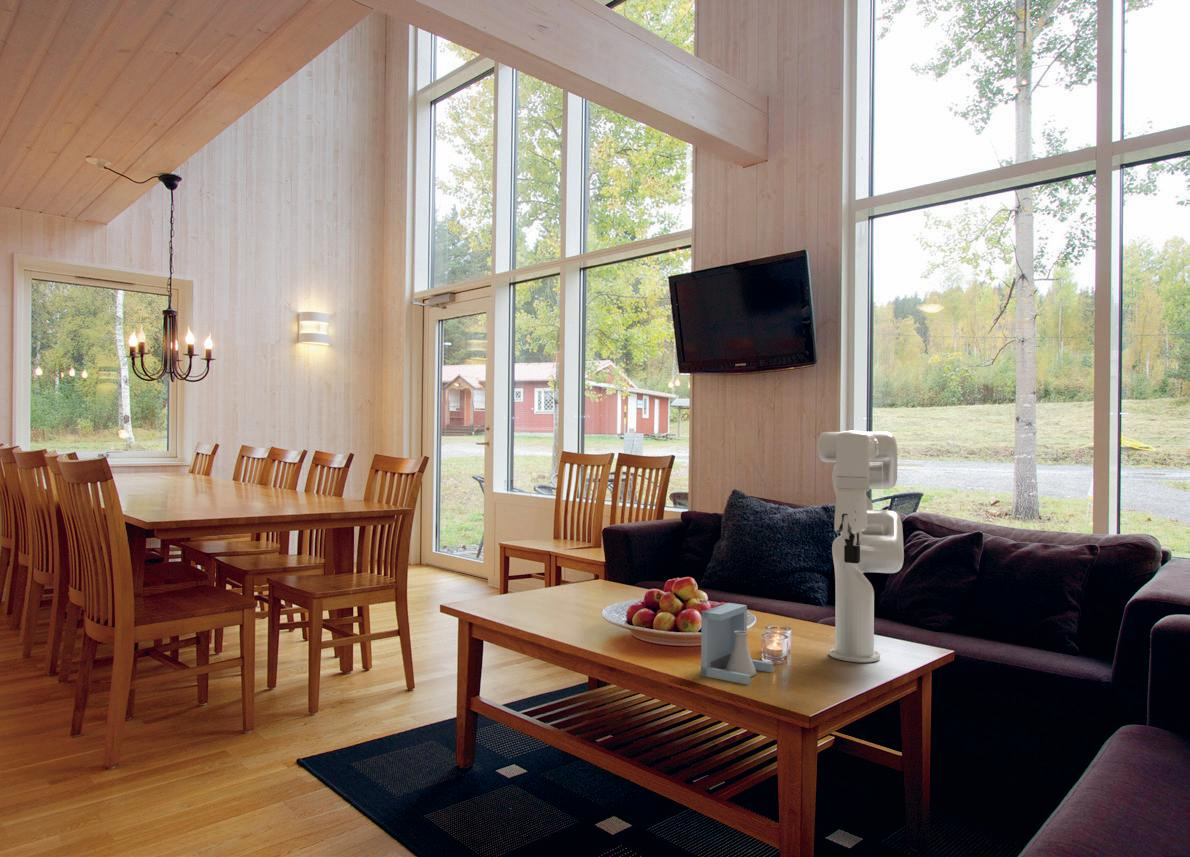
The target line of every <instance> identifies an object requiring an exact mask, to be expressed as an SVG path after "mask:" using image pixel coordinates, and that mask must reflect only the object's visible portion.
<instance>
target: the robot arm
mask: <svg viewBox="0 0 1190 857" xmlns="http://www.w3.org/2000/svg"><path fill="white" fill-rule="evenodd" d="M816 443H817V444H816V449H817V455H818V458H819V459H820V460H821V462H824V463H835V464H834V466H833V468H832V474H831V475H832V476H831V477H832V479H831V480H832V486H833V487H832V488H833V491H834V495H835V497H836V498H835V504H834V506H835V508H834V524H833V525H834V530H833V531H835V533H839V534H840V535H838V536H837V537H836V538H834V540H833V542H832V546H831V547H832V548H831V552H832V554H831V555H832V560H833V561H832V562H833V566H834V580H835V582H834V583H835V611H834V612H835V631H834V632H835V639H834V640H835V643H834V644H835V645H834V646H835V647H831V648H829V650H828V652H829V653H828V655H829V656H830V657H831V658H833V659H836V660H840V661H845V662H849V663H851V662H852V663H874V662H878V661H879V660H880V659H881V654H880V653H879V652H878V651H876V650H875V648H874V646H875V644H874V643H875V628H874V627H875V590H874V587H873V585H872V583H871V582H870V581H869V579H868V578H867V577H866V576H865V574H864V573H880V574H895V573H898V572H899V571H901V569H902V568H903V565H904V559H905V552H904V550H905V549H904V532H903V522H902V519H901V517H900V515H899V514H898V513H897V512H896V511H893V510H887V509H886V510H885V509H874V508H873V503H872V501H871V499H870V498H869V497H868V496H867V492H870V490H889V489H892V488H894V487H895V486H896V485H897V481H898V445H897V444H898V443H897V441H896V438H895V436H894V435H893V434H892V433H891V432H889V431H876V430H875V431H868V430H867V431H866V430H865V431H864V430H863V431H862V430H861V431H860V430H843V431H822V432H821V433H820V435H819V436H818V439H817V442H816Z"/></svg>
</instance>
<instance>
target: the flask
mask: <svg viewBox="0 0 1190 857" xmlns="http://www.w3.org/2000/svg"><path fill="white" fill-rule="evenodd" d="M734 634H735V643H734V648H733V651H732V653H731V656H730V659H729V661H728V664H727V666H726V669H724V670H727V671H733V672H738V673H743V674H749V675H750V678H752V677H754V676H757V674H758V672H757V670H756V669H755V667H754V664H753V661H752V656H751V653H750V650H749V645H748V635H749V632H748V631H747V632H746V631H734Z"/></svg>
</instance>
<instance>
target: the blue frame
mask: <svg viewBox="0 0 1190 857" xmlns="http://www.w3.org/2000/svg"><path fill="white" fill-rule="evenodd" d="M700 623H701V626H700V627H701V629H700V630H701V634H700V635H701V638H700V639H701V640H700V641H701V644H700V647H701V649H700V653H701V654H700V656H701V657H700V676H702V677H707V678H712V679H716V680H717V679H718V680H721V681H726V682H732V683H735V684H742V685H747V686H749V685H751V677H750V675H749V674H743V673H738V672H733V671H727V670H725V669H726V666H727V664H728V661H729V659H730V656H731V653H732V651H733V648H734V643H735V634H734V631H746V632H748V631H747V630H748V628H747V627H748V625H747V624H748V605H746V604H740V603H731V602H727V603H724V604H721V605H718V606H715V607H714V606H713V607H711V608H708V609H706V610H702V611H701V622H700ZM752 661H753V664H754V667H755V669H756V671H759V672H760V671H762V672H767V673H773V672H774V662H770V661H764V660H757V659H752Z"/></svg>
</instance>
